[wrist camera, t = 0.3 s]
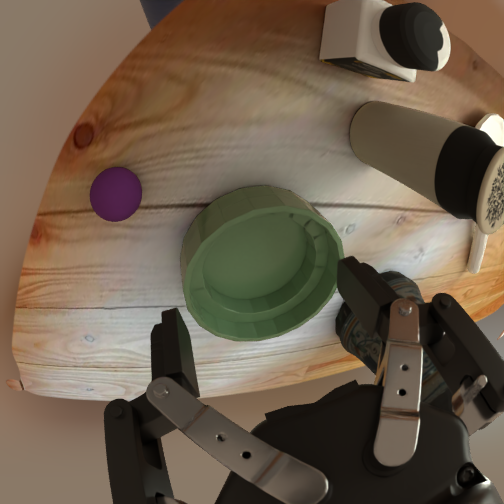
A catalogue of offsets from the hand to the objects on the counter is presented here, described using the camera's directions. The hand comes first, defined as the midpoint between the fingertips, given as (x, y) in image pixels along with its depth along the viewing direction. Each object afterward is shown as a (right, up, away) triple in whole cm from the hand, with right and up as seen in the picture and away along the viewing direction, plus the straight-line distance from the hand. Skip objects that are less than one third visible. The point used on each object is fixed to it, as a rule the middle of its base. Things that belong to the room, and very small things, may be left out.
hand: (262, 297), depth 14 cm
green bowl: (0, +2, +21) cm, 21 cm away
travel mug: (+14, +16, +16) cm, 27 cm away
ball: (-13, +7, +10) cm, 18 cm away
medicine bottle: (+10, +24, +9) cm, 28 cm away
